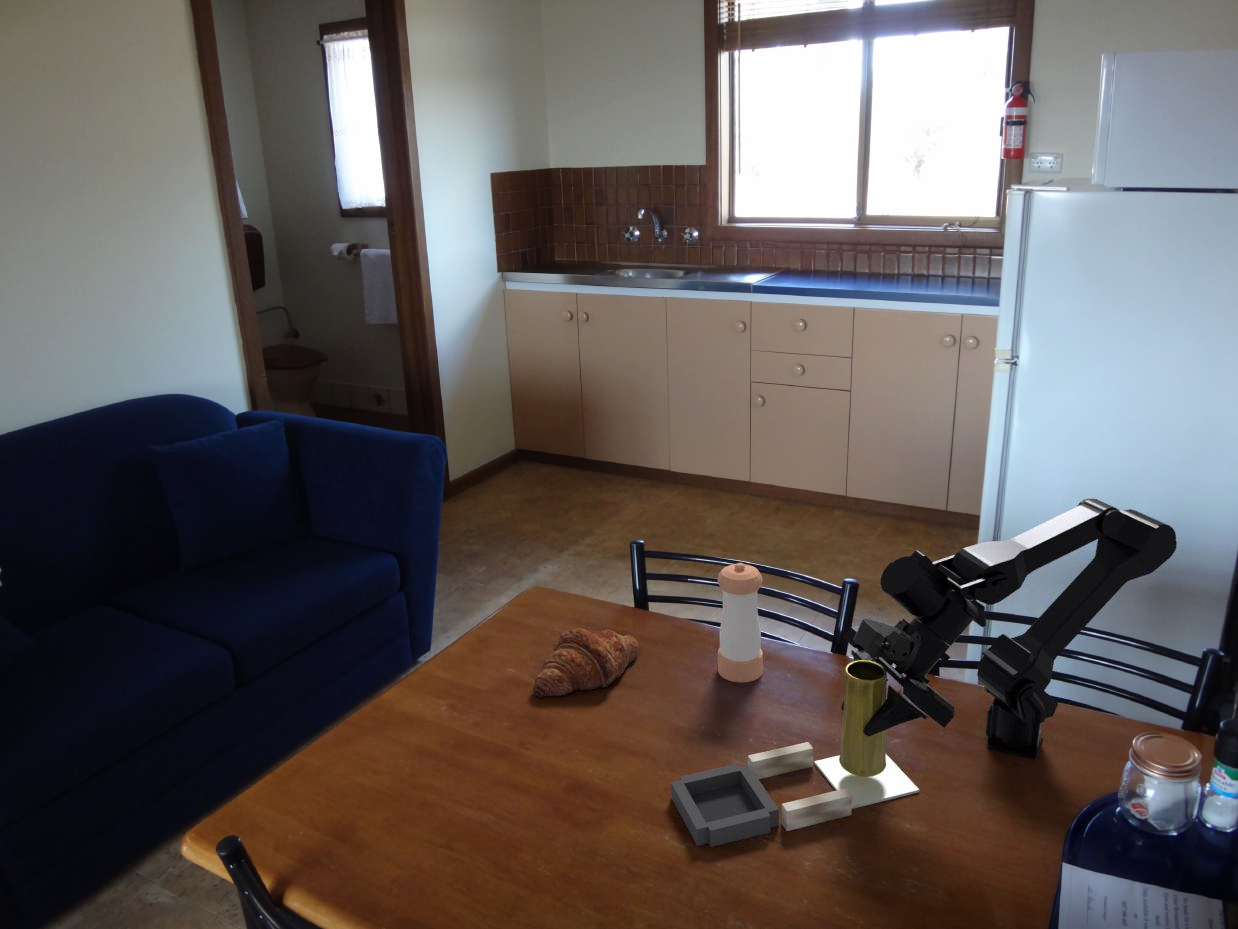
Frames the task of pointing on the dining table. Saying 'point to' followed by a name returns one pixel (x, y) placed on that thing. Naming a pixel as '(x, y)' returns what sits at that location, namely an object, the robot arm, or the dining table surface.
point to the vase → (863, 719)
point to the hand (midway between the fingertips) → (854, 722)
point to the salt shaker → (740, 624)
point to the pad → (867, 782)
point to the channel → (807, 808)
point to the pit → (724, 805)
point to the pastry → (584, 662)
